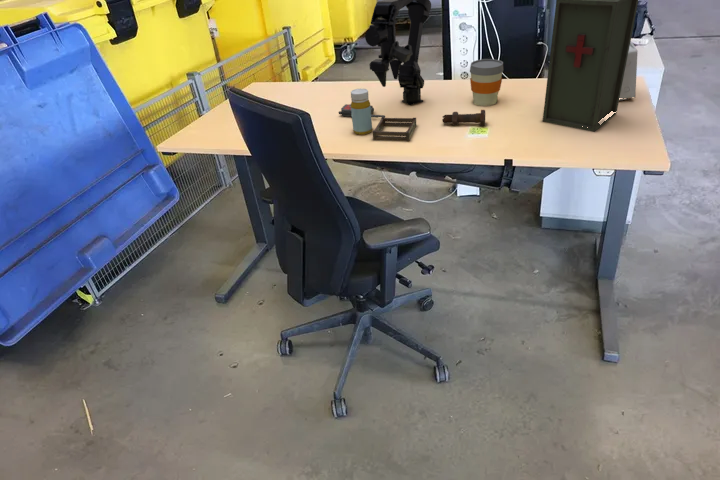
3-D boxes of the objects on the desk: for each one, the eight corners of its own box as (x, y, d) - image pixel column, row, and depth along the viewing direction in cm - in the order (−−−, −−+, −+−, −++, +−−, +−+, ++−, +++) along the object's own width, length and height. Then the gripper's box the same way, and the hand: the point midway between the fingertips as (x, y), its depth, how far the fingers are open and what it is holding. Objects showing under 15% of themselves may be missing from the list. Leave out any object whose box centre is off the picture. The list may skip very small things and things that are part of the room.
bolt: (443, 128, 191) (485, 127, 187) (441, 126, 186) (484, 125, 182) (443, 112, 190) (485, 110, 186) (442, 109, 185) (485, 108, 181)
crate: (382, 125, 194) (381, 117, 192) (416, 125, 190) (416, 117, 188) (373, 140, 183) (372, 131, 181) (409, 141, 179) (408, 132, 177)
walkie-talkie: (336, 118, 204) (384, 121, 197) (335, 107, 201) (383, 109, 194) (344, 110, 210) (391, 112, 204) (343, 99, 208) (391, 101, 201)
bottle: (362, 136, 186) (358, 95, 178) (349, 132, 191) (345, 92, 182) (376, 130, 190) (373, 90, 181) (363, 126, 194) (359, 86, 186)
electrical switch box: (583, 95, 207) (583, 45, 196) (624, 88, 203) (625, 36, 193) (592, 108, 195) (592, 55, 184) (635, 101, 191) (637, 46, 181)
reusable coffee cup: (499, 108, 198) (502, 68, 190) (466, 107, 202) (467, 68, 193) (502, 96, 208) (505, 58, 199) (471, 96, 211) (472, 58, 203)
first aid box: (616, 114, 183) (640, -10, 161) (594, 131, 172) (617, 1, 150) (565, 105, 194) (581, -12, 172) (542, 121, 183) (556, -1, 161)
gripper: (395, 47, 175) (397, 92, 183) (419, 34, 187) (420, 77, 196) (367, 45, 180) (370, 90, 188) (392, 32, 193) (394, 75, 201)
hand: (390, 82), depth 193 cm, fingers open, 9 cm apart
